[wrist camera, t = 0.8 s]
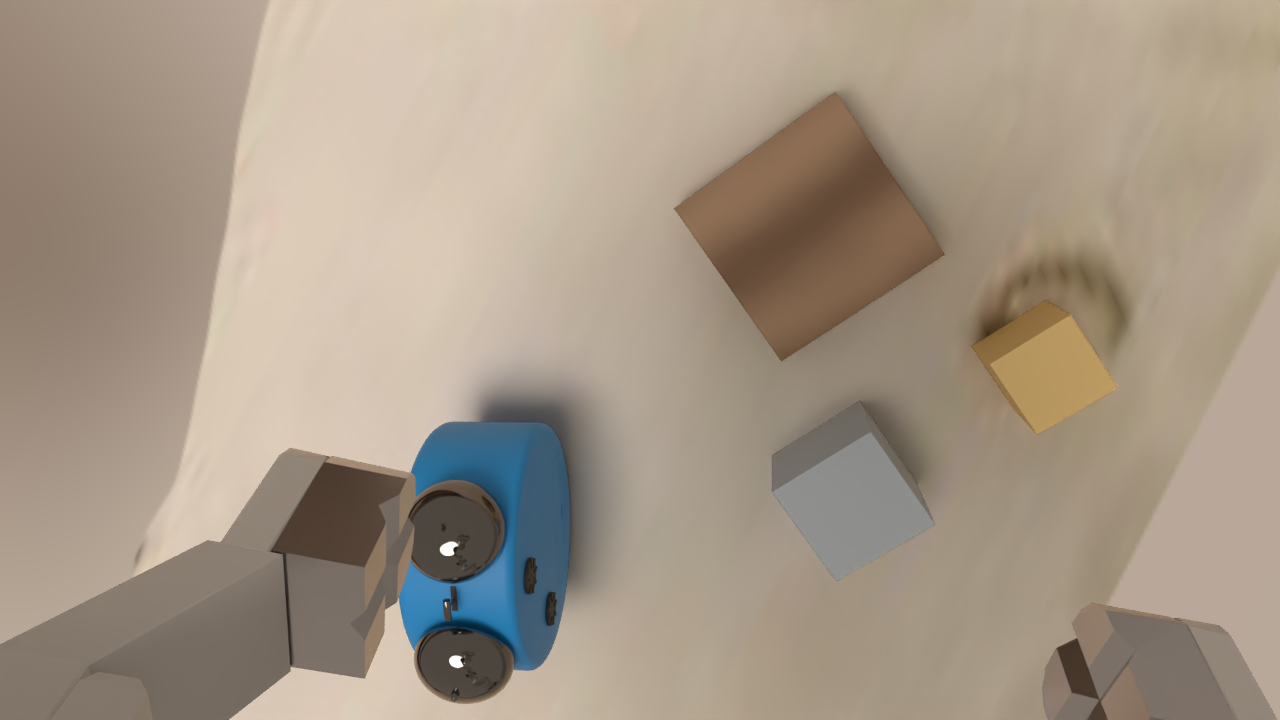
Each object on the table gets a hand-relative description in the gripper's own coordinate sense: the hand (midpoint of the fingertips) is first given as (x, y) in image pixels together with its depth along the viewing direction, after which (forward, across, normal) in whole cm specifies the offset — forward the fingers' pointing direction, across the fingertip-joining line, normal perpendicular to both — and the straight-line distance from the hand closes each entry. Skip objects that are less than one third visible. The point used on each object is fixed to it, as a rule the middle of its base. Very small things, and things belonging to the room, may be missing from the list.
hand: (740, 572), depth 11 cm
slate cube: (+35, +12, -25) cm, 44 cm away
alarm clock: (+34, -6, -32) cm, 47 cm away
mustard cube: (+37, +20, -16) cm, 45 cm away
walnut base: (+40, +6, -13) cm, 42 cm away
